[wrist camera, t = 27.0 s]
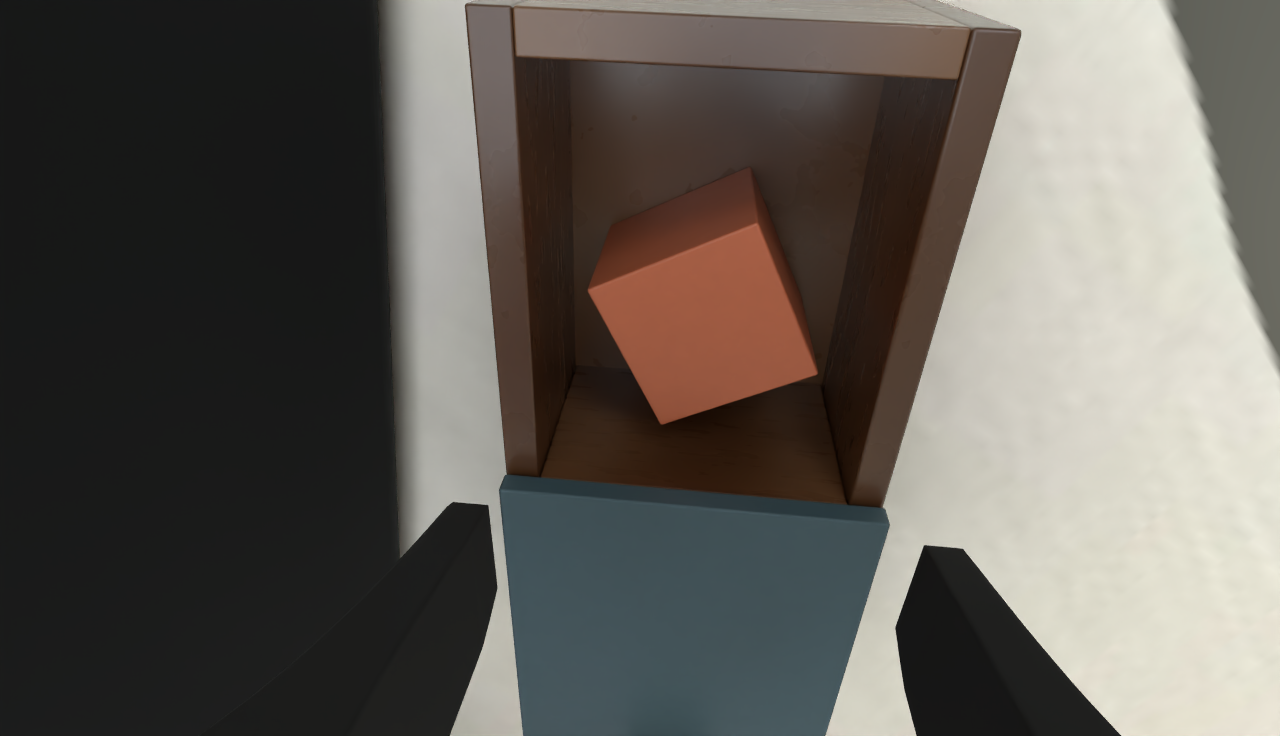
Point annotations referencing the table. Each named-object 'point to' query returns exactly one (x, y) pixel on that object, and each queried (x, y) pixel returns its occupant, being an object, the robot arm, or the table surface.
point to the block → (703, 300)
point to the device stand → (187, 353)
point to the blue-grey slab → (682, 607)
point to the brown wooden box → (701, 154)
